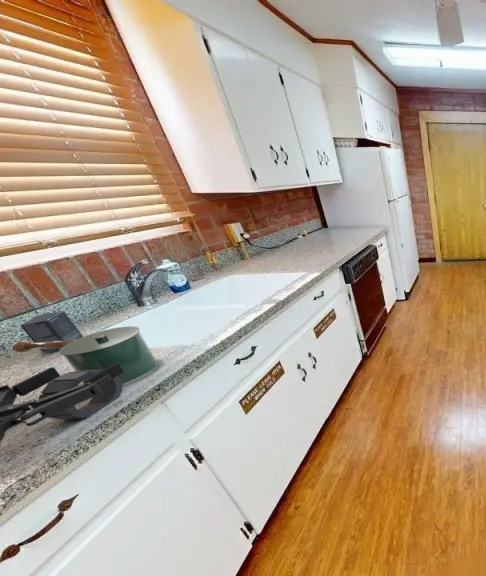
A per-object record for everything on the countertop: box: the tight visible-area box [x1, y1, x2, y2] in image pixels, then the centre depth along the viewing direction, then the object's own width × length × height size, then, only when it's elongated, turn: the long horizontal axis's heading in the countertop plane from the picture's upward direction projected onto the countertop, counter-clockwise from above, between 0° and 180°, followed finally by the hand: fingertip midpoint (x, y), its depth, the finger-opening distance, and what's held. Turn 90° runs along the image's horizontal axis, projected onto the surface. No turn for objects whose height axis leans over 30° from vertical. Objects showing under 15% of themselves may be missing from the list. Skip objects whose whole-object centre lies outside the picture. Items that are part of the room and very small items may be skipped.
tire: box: [38, 369, 124, 421], centre depth 71 cm, size 11×5×11 cm, turn 7°
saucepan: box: [11, 326, 158, 384], centre depth 82 cm, size 27×14×13 cm, turn 97°
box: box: [19, 310, 84, 353], centre depth 96 cm, size 8×6×11 cm
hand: (88, 369), depth 72 cm, fingers open, 13 cm apart
